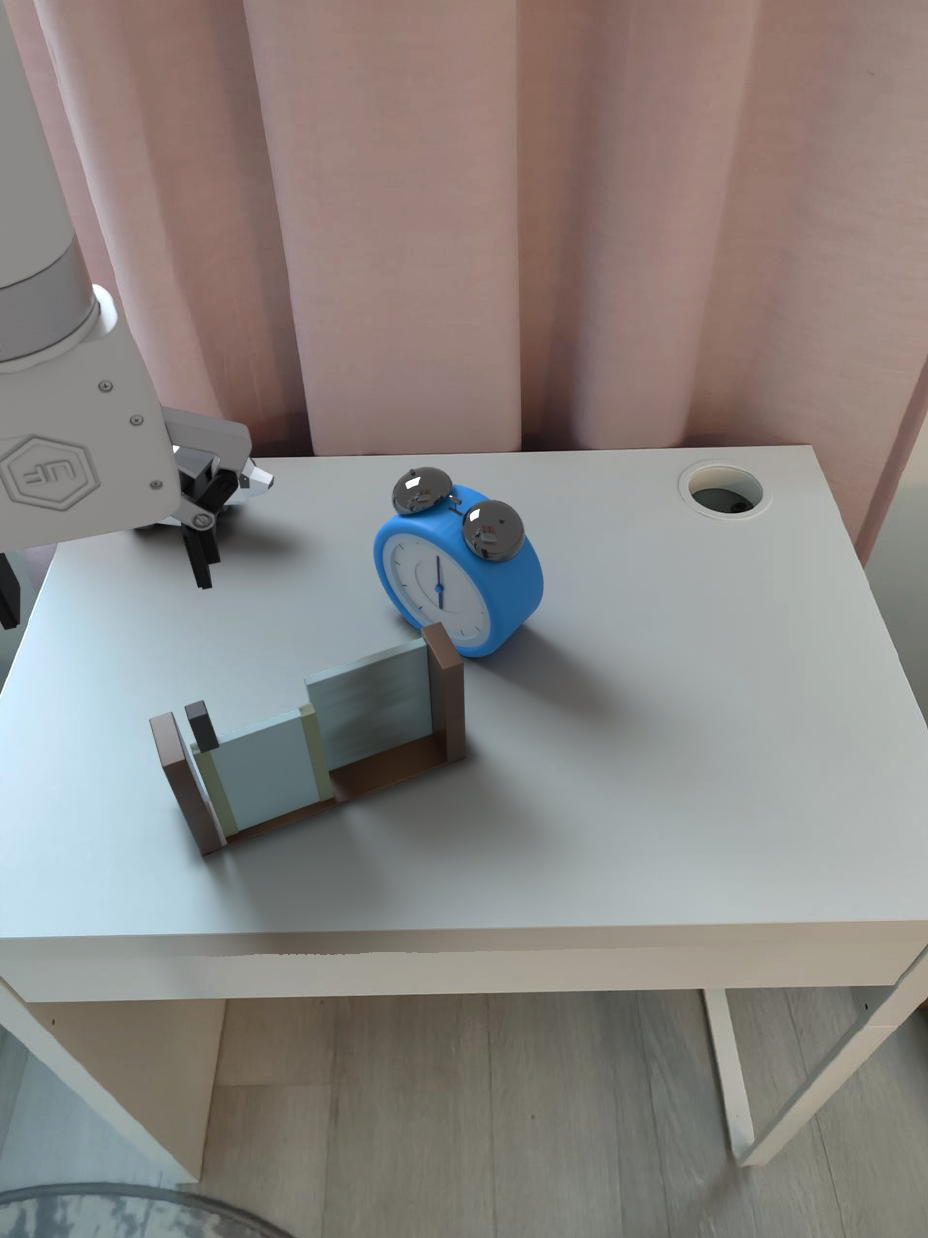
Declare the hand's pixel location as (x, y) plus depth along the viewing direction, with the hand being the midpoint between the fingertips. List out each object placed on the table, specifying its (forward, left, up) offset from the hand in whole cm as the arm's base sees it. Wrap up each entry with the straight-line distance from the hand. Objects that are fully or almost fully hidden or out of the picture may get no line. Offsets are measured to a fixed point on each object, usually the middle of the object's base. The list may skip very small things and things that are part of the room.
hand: (110, 589), depth 52 cm
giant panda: (+7, +32, -26) cm, 42 cm away
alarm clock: (+24, +11, -26) cm, 37 cm away
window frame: (+9, 0, -26) cm, 28 cm away
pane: (+5, -1, -24) cm, 25 cm away
